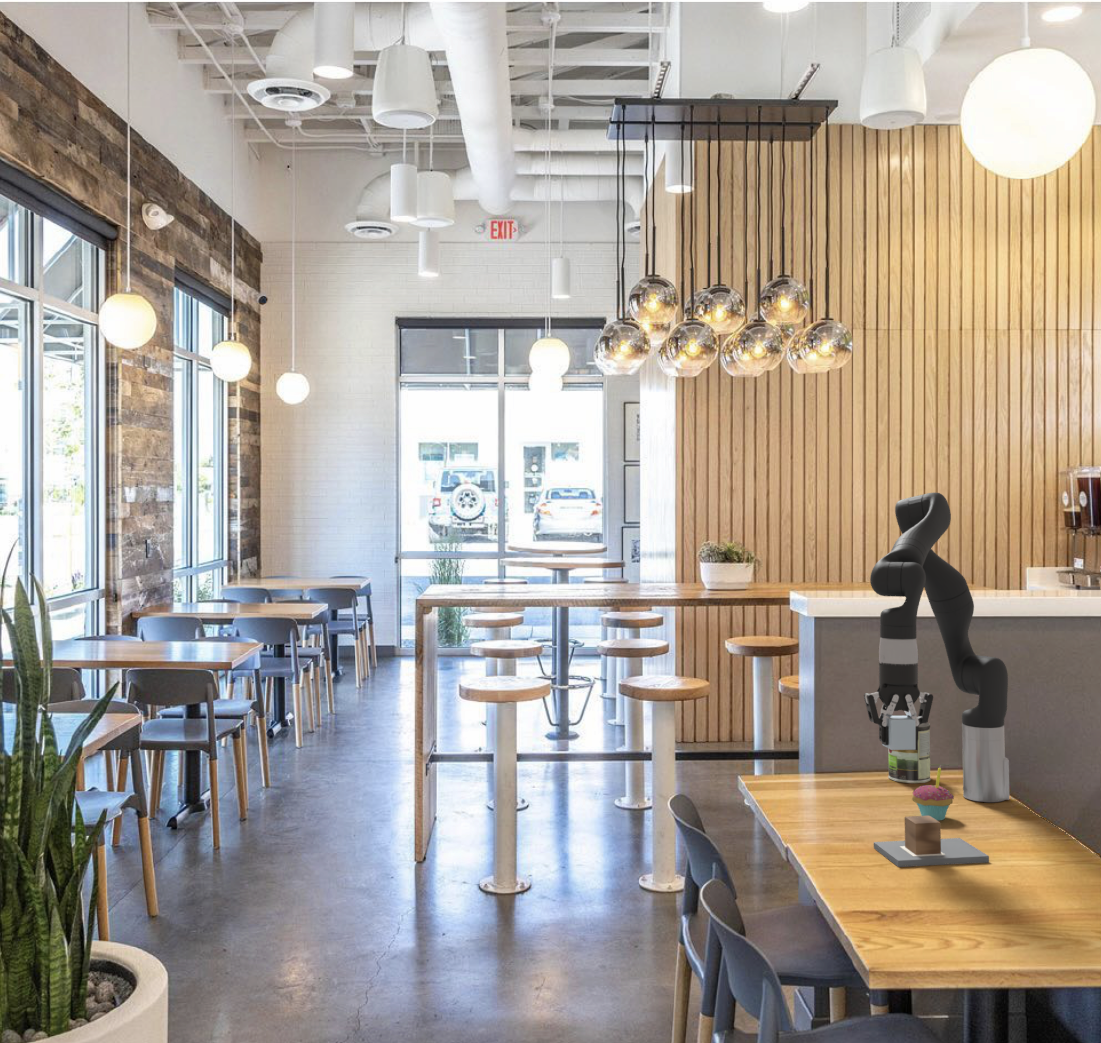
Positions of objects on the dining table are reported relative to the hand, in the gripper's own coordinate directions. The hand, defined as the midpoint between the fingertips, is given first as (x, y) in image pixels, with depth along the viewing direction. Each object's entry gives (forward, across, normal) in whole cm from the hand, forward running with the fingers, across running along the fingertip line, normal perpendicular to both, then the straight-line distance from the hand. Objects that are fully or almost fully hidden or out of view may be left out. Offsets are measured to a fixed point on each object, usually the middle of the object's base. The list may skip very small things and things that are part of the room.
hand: (898, 743), depth 221 cm
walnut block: (+19, -2, +8) cm, 21 cm away
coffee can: (+19, -23, -53) cm, 61 cm away
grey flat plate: (+20, -3, +7) cm, 22 cm away
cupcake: (+20, -15, -18) cm, 31 cm away
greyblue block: (+1, 0, 0) cm, 1 cm away
